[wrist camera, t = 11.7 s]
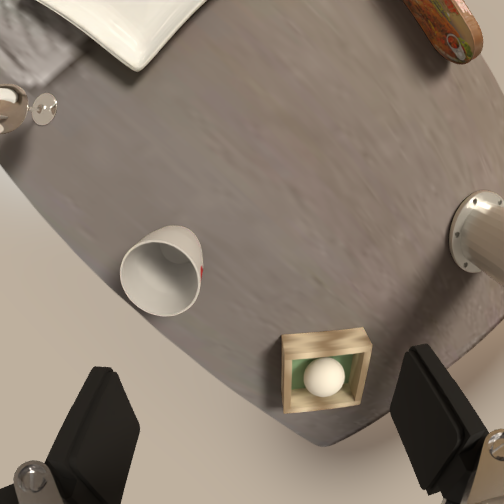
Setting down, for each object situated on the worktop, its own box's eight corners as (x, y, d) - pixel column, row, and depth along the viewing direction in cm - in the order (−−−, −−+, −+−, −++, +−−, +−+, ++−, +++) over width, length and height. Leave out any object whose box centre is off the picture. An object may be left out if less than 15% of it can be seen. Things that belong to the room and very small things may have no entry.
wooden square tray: (363, 327, 45) (372, 345, 40) (352, 385, 49) (359, 404, 45) (281, 334, 45) (284, 354, 40) (281, 393, 49) (283, 413, 45)
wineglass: (50, 79, 31) (-8, 71, 20) (67, 111, 33) (9, 110, 22) (23, 107, 32) (-36, 109, 21) (39, 138, 34) (-21, 148, 23)
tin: (383, -25, 27) (409, -51, 19) (399, -30, 26) (426, -54, 18) (444, 68, 32) (482, 61, 24) (458, 61, 31) (496, 54, 23)
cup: (181, 286, 42) (164, 329, 32) (135, 244, 40) (105, 278, 30) (224, 245, 40) (217, 282, 30) (176, 199, 38) (153, 222, 28)
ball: (342, 347, 45) (351, 373, 40) (338, 376, 48) (345, 402, 42) (302, 350, 45) (307, 377, 40) (300, 379, 48) (304, 407, 42)
